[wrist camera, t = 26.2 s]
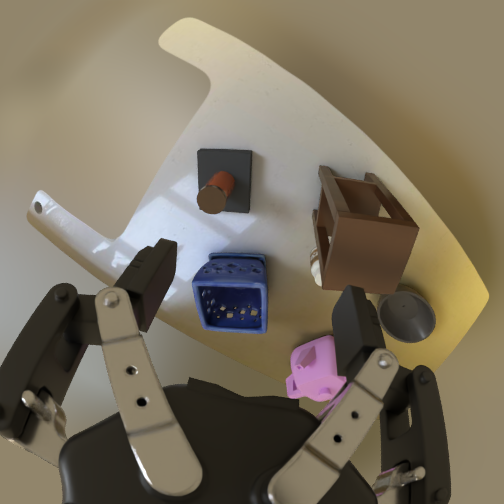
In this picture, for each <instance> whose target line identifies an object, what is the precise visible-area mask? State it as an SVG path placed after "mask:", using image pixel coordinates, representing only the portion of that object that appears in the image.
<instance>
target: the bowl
mask: <svg viewBox="0 0 504 504" xmlns="http://www.w3.org/2000/svg"><path fill="white" fill-rule="evenodd" d="M377 315H378V319H379V322H380V325H381V326H382V328H383V329H384V330H385V331H386V332H387V333H388V334H389V335H390V336H391V337H393V338H394V339H396V340H398V341H401V342H405V343H416V342H419V341H422V340H424V339H426V338H427V337H428V336H429V335H430V334H431V333H432V332H433V330H434V328H435V324H436V318H435V314H434V311H433V309H432V307H431V306H430V304H429V303H428V302H427V301H426V300H425V299H424V298H423V297H422V296H421V295H420V294H419V293H418V292H416V291H415V290H413V289H411V288H409V287H407V286H404V285H400V284H398V286H397V288H396V290H395V293H394V294H381V296H380V298H379V301H378V307H377Z"/></svg>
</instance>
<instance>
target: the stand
mask: <svg viewBox="0 0 504 504" xmlns="http://www.w3.org/2000/svg"><path fill="white" fill-rule="evenodd" d="M318 174H319V177H320V180H321V183H322V187H321V194H320V201H319V207H318V210H313V215H312V219H313V226H314V232H315V238H316V245H317V252H318V259H319V266H320V274H321V281H322V289H323V290H336V291H344V289H345V287H346V286H347V285H353V286H357V287H361V288H363V289H364V291H365V293H377V294H394V293H395V290H396V288H397V286H398V283H399V281H400V279H401V276H402V274H403V272H404V269H405V267H406V264H407V262H408V259H409V256H410V254H411V251H412V248H413V246H414V243H415V240H416V237H417V234H418V231H419V227H418V225H417V224H416V223H415V222H414V220H413V219H412V218H411V217H410V215H409V214H408V213H407V212H406V210H405V209H404V208H403V207H402V205H401V204H400V203H399V202H398V201H397V199H396V198H395V197H394V196H393V195H392V194H391V192H390V191H389V190H388V189H387V188H386V187H385V186H384V184H383V183H382V182H381V181H380V180H379V179H378V178H377V177H376V176H375V174H373V173H367V172H366V174H365V179H364V181H362V180H355V179H349V178H342V177H335V176H333V175H332V173H331V171H330V169H329V167H328V166H319V172H318ZM381 204H382V205H383V207H384V208H385V210H386V211H387V212H388V214H389V215H390V217H391V218H386V217H379V216H378V214H379V210H380V206H381ZM328 236H332V238H331V243H330V244H329V239H328Z"/></svg>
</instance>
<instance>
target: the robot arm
mask: <svg viewBox="0 0 504 504" xmlns="http://www.w3.org/2000/svg"><path fill="white" fill-rule="evenodd" d="M176 258H177V242H175V241H171V240H167V239H163V238H161V239H160V240H159V241H158V242H157V244H156V245H155V246H154V247H150V246H147V247H145V248H144V249H142V250H140V251H139V252H138V253H137V255H136V256H135V257H134V260H132V261H131V263H130V265H129V266H128V267H127V268H126V269H125V271H124V272H123V274H122V275H121V276H120V278H119V279H118V280H117V282H116V283H115V285H114V286H113V287H107V288H104V289H102V290H101V291H99V293H98V294H97V295H82V294H78V293H77V289H76V288H75V287H74V286H73V285H71V284H68V283H61V284H58V285H56V286H54V287H52V288H51V289H50V291H49V292H48V293H47V295H46V296H45V297H44V299H43V300H42V302H41V303H40V304H39V306H38V307H37V308H36V310H35V311H34V313H33V314H32V316H31V317H30V319H29V320H28V322H27V323H26V325H25V326H24V328H23V329H22V331H21V333H20V334H19V336H18V337H17V339H16V341H15V342H14V344H13V346H12V348H11V349H10V351H9V352H8V354H7V356H6V358H5V360H4V361H3V363H2V365H1V367H0V435H1V436H2V437H3V438H5V439H6V440H8V441H10V442H11V443H14V444H15V445H16V446H18V447H20V448H23V449H25V450H27V451H29V452H31V453H34V454H35V455H37V456H38V457H40V458H42V459H43V460H45V461H47V462H48V463H50V464H52V465H54V466H56V467H57V468H59V472H60V477H61V482H62V491H63V500H62V504H448V502H449V500H450V497H451V478H450V463H449V453H448V444H447V436H446V429H445V422H444V416H443V411H442V405H441V400H440V396H439V391H438V386H437V382H436V378H435V375H434V373H433V372H432V371H431V370H430V369H429V368H428V367H426V366H424V365H419V366H417V367H415V368H414V369H413V370H409V369H407V368H404V367H402V366H400V365H399V363H398V360H397V358H396V356H395V355H394V354H393V353H392V352H391V351H389V350H388V349H386V345H385V341H384V337H383V333H382V330H381V326H380V322H379V319H378V315H377V311H376V308H375V307H374V305H373V304H372V303H371V301H370V300H367V299H366V295H365V291H364V289H363V288H361V287H357V286H353V285H347V286H346V287H345V289H344V291H343V293H342V294H341V296H340V298H339V300H338V302H337V303H336V305H335V307H334V309H333V313H332V326H333V334H334V344H335V354H336V365H337V376H343V377H346V382H345V383H344V384H343V386H342V387H341V388H340V389H339V391H338V392H337V393H336V394H335V396H334V397H333V398H332V399H331V400H330V402H329V403H328V404H327V405H326V407H325V408H324V409H323V410H322V411H321V412H320V413H319V414H318V415H317V416H316V417H315V416H314V415H313V414H311V413H310V412H308V411H306V410H305V409H303V408H300V407H299V399H292V398H285V397H278V396H262V397H261V396H260V397H243V396H241V395H238V394H236V393H234V392H232V391H230V390H227V389H225V388H223V387H221V386H219V385H217V384H213V383H209V382H205V381H201V380H198V379H194V378H190V377H189V380H188V384H175V385H169V386H166V387H161V384H160V382H159V379H158V377H157V374H156V372H155V369H154V366H153V364H152V361H151V358H150V356H149V353H148V350H147V347H146V344H145V342H144V339H143V336H142V335H140V332H139V330H140V331H143V332H146V333H147V331H148V329H149V327H150V325H151V323H152V321H153V319H154V317H155V315H156V313H157V311H158V309H159V307H160V305H161V303H162V301H163V299H164V297H165V295H166V293H167V291H168V289H169V287H170V285H171V283H172V281H173V279H174V276H175V272H176ZM89 344H90V345H101V346H102V351H103V355H104V360H105V364H106V368H107V372H108V376H109V379H110V383H111V386H112V390H113V393H114V397H115V400H116V403H117V406H118V409H119V412H117V413H116V414H113V415H112V416H110V417H108V418H106V419H104V420H102V421H100V422H99V423H97V424H95V425H93V426H91V427H89V428H87V429H85V430H83V431H81V432H79V433H77V434H75V435H73V436H72V437H70V438H69V439H67V437H66V434H65V426H66V416H65V413H64V411H63V409H62V408H61V405H62V402H63V400H64V397H65V395H66V392H67V390H68V388H69V386H70V383H71V381H72V379H73V377H74V374H75V372H76V370H77V368H78V366H79V364H80V362H81V359H82V357H83V355H84V353H85V351H86V349H87V347H88V345H89ZM408 408H411V416H412V425H411V427H410V426H409V416H408ZM379 413H380V429H381V474H380V475H379V476H378V477H377V479H376V481H375V483H374V484H373V486H372V488H371V487H370V485H369V484H368V483H367V482H366V480H365V479H364V478H363V477H362V476H361V474H360V473H359V472H358V470H357V469H356V468H355V466H354V465H353V464H352V463H351V461H350V460H349V459H350V457H351V456H352V454H353V453H354V452H355V450H356V449H357V447H358V446H359V444H360V443H361V441H362V440H363V438H364V437H365V435H366V434H367V432H368V431H369V429H370V428H371V426H372V424H373V423H374V421H375V419H376V418H377V416H378V414H379Z"/></svg>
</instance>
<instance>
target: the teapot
mask: <svg viewBox="0 0 504 504" xmlns="http://www.w3.org/2000/svg"><path fill="white" fill-rule="evenodd" d="M291 369H292V374H291V375H290V376H289V377H288V378H287V379H286V385H287V393H288V397H290V398H292V399H295V398H299V397H302V396H307V397H309V398H311V399H313V400H315V401H325V400H329V399H332V398H333V397H334V396H335V394H336V393H337V392H338V391H339V389H340V388H341V387H342V386H343V384H344V383H345V382H346V377H343V376H337V365H336V354H335V344H334V337H333V336H331V335H327V336H324V337H321V338H318V339H316V340H313V341H311V342H308V343H306V344H304V345H301V346H299V347H297V348H295V349H294V351H293V353H292V355H291ZM297 388H298V389H297Z"/></svg>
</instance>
